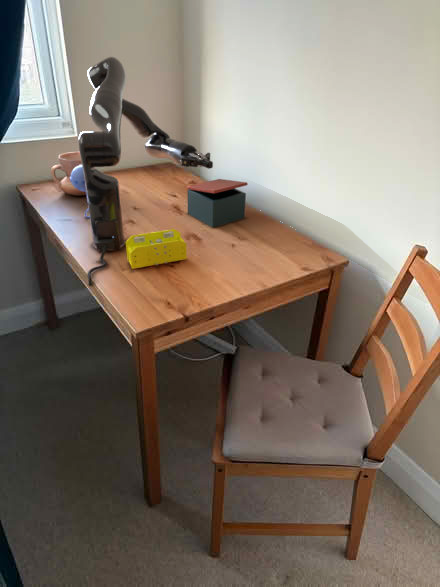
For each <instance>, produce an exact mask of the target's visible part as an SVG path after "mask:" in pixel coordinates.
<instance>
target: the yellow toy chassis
mask: <svg viewBox="0 0 440 587" xmlns="http://www.w3.org/2000/svg"><path fill="white" fill-rule="evenodd" d="M187 248H188V247H187V242H185V241H184V239H183V238H182V233H181V232H180V231H178V230H177V229H175V228H171V229H165V230H159V231H152V232H146V233H140V234H134V235H131V236H130V237H128V239H127V240H125V249H126V260H127V262H128V263H129V265H130V266H131V269H132V270H133V269H140V268H144V267H149V266H158V265H161V264H166V265H167V264H168V263H171V262H178V261H182V260H183V261H184V260H187V258H188V257H187V255H188V254H187V253H188V252H187V251H188V249H187Z"/></svg>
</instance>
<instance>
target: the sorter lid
mask: <svg viewBox="0 0 440 587" xmlns="http://www.w3.org/2000/svg"><path fill="white" fill-rule="evenodd" d="M245 186H248V182H247V181H240V180H239V181H238V180H231V179H224V178H223V179H222V178H216V179H214V180H208V181H204V182H200V183H196V184H192V185H188V186H186V187H187V189H191V190H197V191H202V192H208V193H218V192H222V191H226V190H230V189H234V188H235V189H237V188H238V189H239V188H242V187H245ZM187 189H186V190H187Z"/></svg>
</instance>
